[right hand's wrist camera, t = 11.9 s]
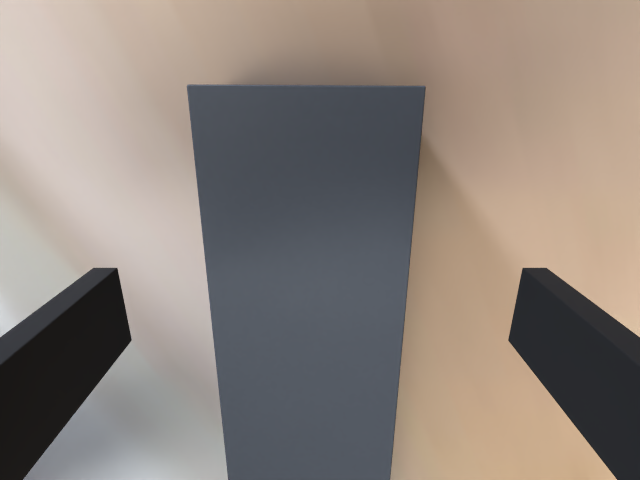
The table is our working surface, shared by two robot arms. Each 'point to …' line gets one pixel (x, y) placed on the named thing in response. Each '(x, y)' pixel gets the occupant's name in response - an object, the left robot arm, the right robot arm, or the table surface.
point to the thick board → (307, 269)
